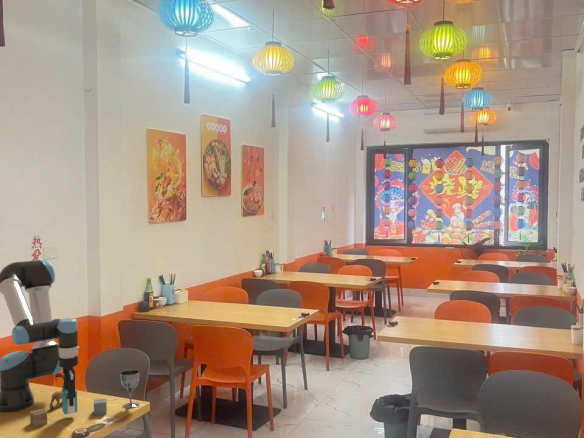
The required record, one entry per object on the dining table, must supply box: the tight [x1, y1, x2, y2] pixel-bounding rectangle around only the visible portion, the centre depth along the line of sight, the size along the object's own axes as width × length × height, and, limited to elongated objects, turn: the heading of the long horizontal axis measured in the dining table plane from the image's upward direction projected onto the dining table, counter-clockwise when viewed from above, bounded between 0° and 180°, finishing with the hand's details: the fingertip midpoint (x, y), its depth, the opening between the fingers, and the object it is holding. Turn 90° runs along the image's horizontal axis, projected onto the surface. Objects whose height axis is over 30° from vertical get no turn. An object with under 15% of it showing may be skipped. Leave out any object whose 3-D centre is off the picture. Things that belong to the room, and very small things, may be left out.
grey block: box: [93, 397, 108, 416], centre depth 233 cm, size 5×5×5 cm
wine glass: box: [120, 369, 140, 410], centre depth 240 cm, size 8×8×15 cm
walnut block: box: [29, 408, 48, 428], centre depth 222 cm, size 5×5×5 cm
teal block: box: [61, 388, 78, 416], centre depth 227 cm, size 5×5×9 cm
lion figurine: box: [49, 382, 64, 410], centre depth 242 cm, size 15×5×9 cm, turn 173°
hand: (69, 410), depth 228 cm, fingers closed on teal block, 5 cm apart
